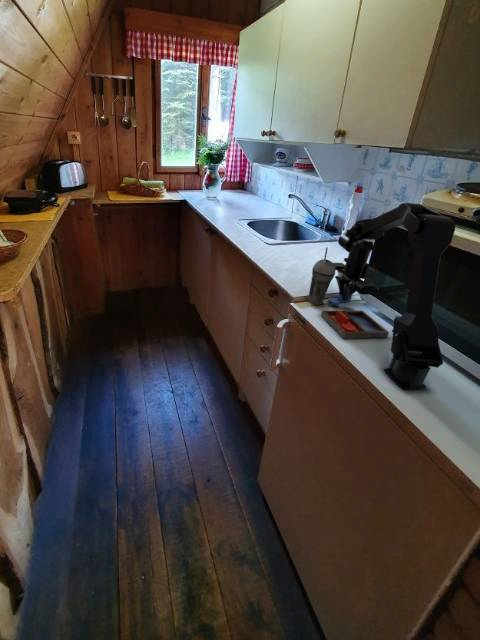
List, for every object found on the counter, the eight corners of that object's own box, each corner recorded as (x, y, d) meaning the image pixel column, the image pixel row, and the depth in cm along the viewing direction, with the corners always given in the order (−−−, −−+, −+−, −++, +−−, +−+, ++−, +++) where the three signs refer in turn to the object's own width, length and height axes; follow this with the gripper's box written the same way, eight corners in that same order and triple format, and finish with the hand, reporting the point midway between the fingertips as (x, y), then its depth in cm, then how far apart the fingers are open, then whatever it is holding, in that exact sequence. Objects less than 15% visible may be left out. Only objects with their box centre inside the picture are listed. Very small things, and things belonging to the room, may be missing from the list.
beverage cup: (329, 307, 104) (346, 253, 96) (308, 305, 103) (323, 250, 96) (321, 296, 110) (336, 245, 103) (301, 294, 110) (315, 242, 103)
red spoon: (330, 318, 96) (333, 310, 95) (341, 318, 97) (344, 310, 96) (346, 333, 89) (349, 325, 88) (357, 333, 90) (360, 325, 89)
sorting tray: (386, 338, 90) (389, 332, 89) (343, 339, 87) (345, 333, 87) (360, 315, 101) (362, 310, 100) (320, 316, 98) (322, 310, 97)
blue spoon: (344, 299, 108) (347, 293, 107) (351, 305, 105) (354, 298, 104) (325, 299, 107) (327, 292, 106) (331, 305, 103) (334, 298, 102)
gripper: (401, 271, 93) (383, 314, 99) (360, 248, 110) (347, 287, 116) (369, 270, 91) (353, 314, 96) (332, 247, 108) (320, 286, 113)
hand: (343, 299), depth 106 cm, fingers closed on blue spoon
